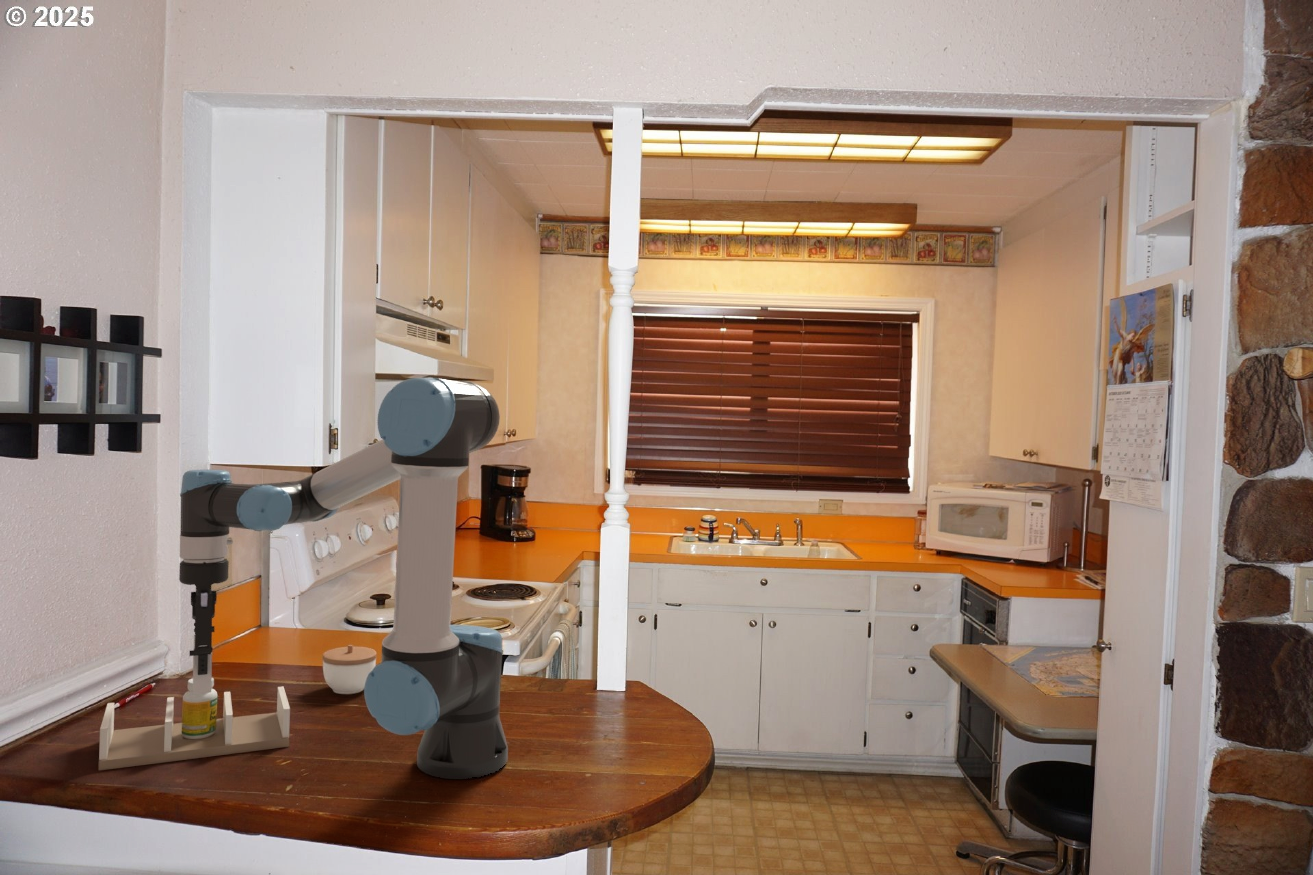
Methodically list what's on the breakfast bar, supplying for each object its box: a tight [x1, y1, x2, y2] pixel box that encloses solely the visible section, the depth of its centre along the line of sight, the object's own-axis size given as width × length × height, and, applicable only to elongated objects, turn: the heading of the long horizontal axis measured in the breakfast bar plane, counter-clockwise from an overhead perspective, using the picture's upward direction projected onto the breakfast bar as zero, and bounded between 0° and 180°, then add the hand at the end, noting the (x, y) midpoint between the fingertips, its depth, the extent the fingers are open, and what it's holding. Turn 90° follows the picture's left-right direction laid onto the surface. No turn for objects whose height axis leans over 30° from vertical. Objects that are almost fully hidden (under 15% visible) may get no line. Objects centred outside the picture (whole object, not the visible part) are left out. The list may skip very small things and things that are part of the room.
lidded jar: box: [322, 644, 378, 695], centre depth 182 cm, size 11×11×9 cm
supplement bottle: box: [181, 676, 218, 739], centre depth 150 cm, size 5×5×10 cm
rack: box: [98, 686, 291, 771], centre depth 150 cm, size 14×28×6 cm, turn 118°
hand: (201, 681), depth 150 cm, fingers open, 13 cm apart
